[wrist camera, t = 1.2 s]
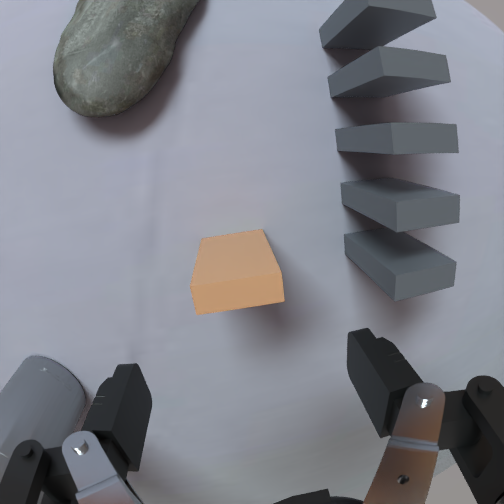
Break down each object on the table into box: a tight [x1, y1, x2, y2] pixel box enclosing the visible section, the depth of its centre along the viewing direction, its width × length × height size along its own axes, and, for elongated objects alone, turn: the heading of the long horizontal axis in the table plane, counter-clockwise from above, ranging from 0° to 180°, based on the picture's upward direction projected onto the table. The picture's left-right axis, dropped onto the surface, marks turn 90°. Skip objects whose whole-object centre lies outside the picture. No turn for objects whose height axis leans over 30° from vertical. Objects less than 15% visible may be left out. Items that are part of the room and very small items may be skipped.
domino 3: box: [328, 46, 451, 98], centre depth 19 cm, size 2×5×10 cm, turn 98°
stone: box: [53, 0, 200, 117], centre depth 19 cm, size 11×4×15 cm
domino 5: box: [341, 178, 460, 232], centre depth 21 cm, size 2×5×10 cm, turn 98°
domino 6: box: [344, 228, 456, 302], centre depth 23 cm, size 2×5×10 cm, turn 98°
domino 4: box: [335, 122, 459, 155], centre depth 20 cm, size 2×5×10 cm, turn 98°
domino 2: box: [319, 0, 436, 50], centre depth 17 cm, size 2×5×10 cm, turn 98°
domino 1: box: [190, 229, 285, 315], centre depth 22 cm, size 2×5×10 cm, turn 98°
